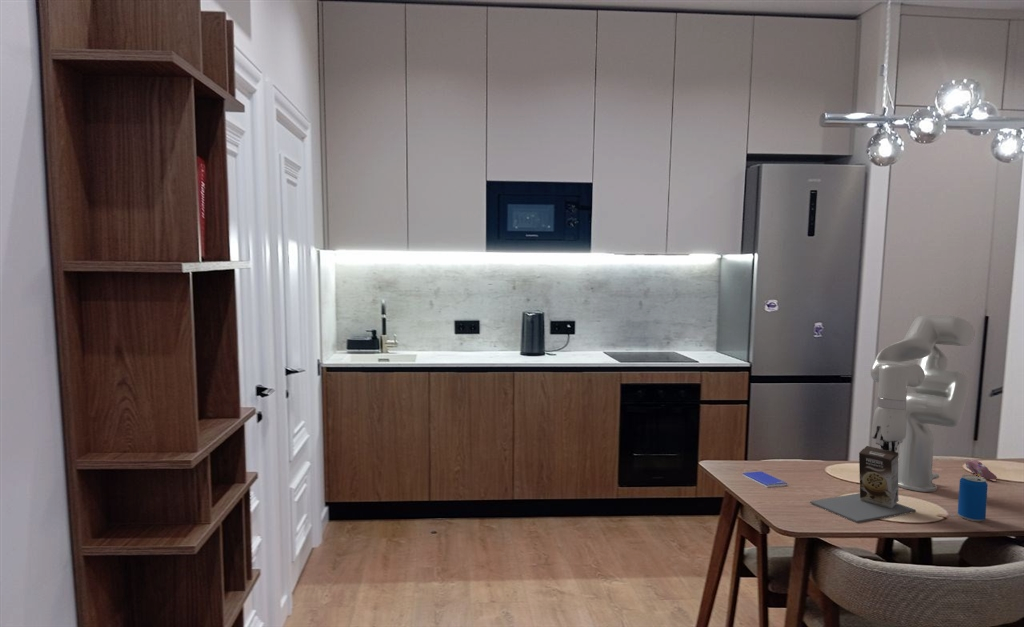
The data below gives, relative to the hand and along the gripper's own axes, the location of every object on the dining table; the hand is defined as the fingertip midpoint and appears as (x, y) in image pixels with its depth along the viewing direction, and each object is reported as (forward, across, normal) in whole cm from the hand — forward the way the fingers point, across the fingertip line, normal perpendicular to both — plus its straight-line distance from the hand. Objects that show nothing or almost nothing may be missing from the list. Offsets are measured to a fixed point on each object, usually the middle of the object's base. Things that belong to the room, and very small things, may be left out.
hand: (888, 462), depth 187 cm
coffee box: (+12, +2, 0) cm, 12 cm away
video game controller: (+12, -58, -6) cm, 60 cm away
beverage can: (+13, -13, +17) cm, 25 cm away
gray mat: (+13, +10, 0) cm, 17 cm away
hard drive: (+14, +19, -30) cm, 38 cm away
